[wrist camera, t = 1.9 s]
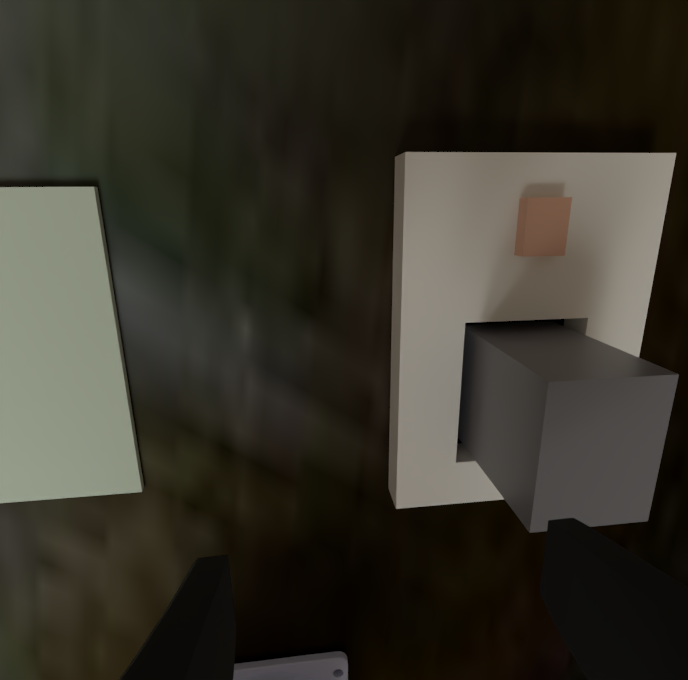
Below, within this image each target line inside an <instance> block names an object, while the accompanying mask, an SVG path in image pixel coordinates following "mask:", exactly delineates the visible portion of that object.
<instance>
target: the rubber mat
mask: <svg viewBox="0 0 688 680" xmlns="http://www.w3.org/2000/svg"><path fill="white" fill-rule="evenodd" d="M143 489H144V483H143V476H142V470H141V463H140V457H139V451H138V444H137V438H136V431H135V425H134V418H133V412H132V406H131V399H130V393H129V386H128V380H127V373H126V367H125V361H124V354H123V348H122V341H121V335H120V329H119V322H118V316H117V309H116V303H115V296H114V290H113V284H112V277H111V271H110V264H109V258H108V251H107V245H106V239H105V232H104V226H103V219H102V213H101V207H100V200H99V194H98V187H0V503H8V502H21V501H34V500H46V499H59V498H72V497H84V496H97V495H109V494H122V493H135V492H142V491H143Z"/></svg>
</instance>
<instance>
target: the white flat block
mask: <svg viewBox="0 0 688 680" xmlns="http://www.w3.org/2000/svg"><path fill="white" fill-rule="evenodd" d="M675 158H676V153H542V152H404V153H402V154H400V155H398V156H396V157H395V184H394V233H393V283H392V332H391V381H390V431H389V480H388V488H389V491H390V494H391V497H392V499H393V502H394V505H395V508H396V509H401V508H412V507H423V506H434V505H446V504H457V503H468V502H479V501H491V500H502V499H504V498H503V497H502V495H501V494H500V493H499V491H498V490H497V489H496V487H495V486H494V485H493V483H492V482H491V481H490V479H489V478H488V477H487V475H486V474H485V473H484V471H483V470H482V469H481V467H480V466H479V465H478V463H477V462H476V461H475V459H474V458H473V457H472V455H471V454H470V453H469V451H468V450H467V449H466V447H465V446H464V445H463V443H460V444H457V439H458V424H459V409H460V394H461V380H462V365H463V350H464V335H465V323H473V322H498V321H522V320H546V319H564V325H563V326H565V327H567V328H569V329H572V330H574V331H577V332H579V333H581V334H584V335H586V336H589V337H591V338H593V339H596V340H598V341H600V342H603V343H605V344H608V345H610V346H612V347H615V348H617V349H620V350H622V351H624V352H627V353H629V354H631V355H634V356H636V357H639V354H640V349H641V343H642V338H643V332H644V327H645V321H646V316H647V310H648V305H649V300H650V294H651V289H652V283H653V278H654V272H655V267H656V261H657V256H658V250H659V245H660V240H661V234H662V229H663V223H664V218H665V212H666V207H667V201H668V196H669V191H670V185H671V180H672V174H673V169H674V163H675Z"/></svg>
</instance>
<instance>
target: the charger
mask: <svg viewBox="0 0 688 680" xmlns="http://www.w3.org/2000/svg"><path fill="white" fill-rule="evenodd" d="M678 376H679V374H677V373H674V372H672V371H670V370H667V369H665V368H662V367H660V366H658V365H655V364H653V363H650V362H648V361H646V360H643V359H641V358H639V357H636V356H634V355H631V354H629V353H627V352H624V351H622V350H620V349H617V348H615V347H612V346H610V345H608V344H605V343H603V342H600V341H598V340H596V339H593V338H591V337H589V336H586V335H584V334H581V333H579V332H577V331H574V330H572V329H569V328H567V327H565V326H562V325H560V324H558V323H555V322H553V321H547V322H523V323H499V324H474V325H465V335H464V350H463V365H462V380H461V394H460V409H459V424H458V438H459V439H460V441H461V442H462V443H463V445H464V446H465V447H466V449H467V450H468V451H469V453H470V454H471V455H472V457H473V458H474V459H475V461H476V462H477V463H478V465H479V466H480V467H481V469H482V470H483V471H484V473H485V474H486V475H487V477H488V478H489V479H490V481H491V482H492V483H493V485H494V486H495V487H496V489H497V490H498V491H499V493H500V494H501V495H502V497H503V498H504V499H505V501H506V502H507V503H508V505H509V506H510V507H511V509H512V510H513V511H514V512H515V514H516V515H517V516H518V518H519V519H520V520H521V522H522V523H523V524H524V526H525V527H526V528H527V530H528V531H529V532H530V533H531V532H541V531H547V527H548V520H556V519H565V518H575V519H577V520H579V521H580V522H582V523H584V524H586V525H587V526H589V527H592V526H602V525H612V524H623V523H633V522H643V521H648V518H649V513H650V508H651V504H652V499H653V494H654V489H655V485H656V480H657V475H658V470H659V466H660V461H661V456H662V452H663V447H664V442H665V437H666V433H667V428H668V423H669V419H670V414H671V409H672V404H673V400H674V395H675V390H676V386H677V381H678Z"/></svg>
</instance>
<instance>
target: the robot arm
mask: <svg viewBox="0 0 688 680" xmlns="http://www.w3.org/2000/svg"><path fill="white" fill-rule="evenodd" d="M539 592H540V594H541V596H542V598H543V601H544V603H545V605H546V607H547V609H548V611H549V613H550V615H551V617H552V619H553V621H554V623H555V625H556V627H557V629H558V631H559V633H560V635H561V637H562V639H563V641H564V642H565V644H566V645H567V647H568V649H569V650H570V652H571V654H572V655H573V657H574V658H575V660H576V661H577V663H578V665H579V666H580V668H581V669H582V671H583V673H584V674H585V676H586V677H587V679H588V680H688V587H687V586H685V585H683V584H682V583H680V582H678V581H677V580H675V579H673V578H672V577H670V576H668V575H667V574H665V573H663V572H662V571H660V570H659V569H657V568H655V567H654V566H652V565H650V564H649V563H647V562H646V561H644V560H642V559H641V558H639V557H638V556H636V555H634V554H633V553H631V552H630V551H628V550H626V549H625V548H623V547H622V546H620V545H618V544H617V543H615V542H613V541H612V540H610V539H609V538H607V537H605V536H604V535H602V534H601V533H599V532H597V531H596V530H594V529H592V528H591V527H589V526H587V525H586V524H584V523H582V522H580V521H579V520H577V519H575V518H565V519H556V520H548V527H547V535H546V543H545V551H544V559H543V567H542V575H541V583H540V591H539ZM236 634H237V628H236V620H235V611H234V603H233V595H232V586H231V578H230V570H229V561H228V555H222V556H213V557H204V558H198V559H197V560H196V561H195V562H194V563H193V565H192V567H191V568H190V570H189V572H188V574H187V576H186V577H185V579H184V581H183V582H182V584H181V586H180V588H179V589H178V591H177V593H176V594H175V596H174V598H173V599H172V601H171V602H170V604H169V606H168V607H167V609H166V610H165V612H164V614H163V615H162V617H161V618H160V620H159V622H158V623H157V625H156V626H155V628H154V629H153V631H152V632H151V634H150V635H149V637H148V638H147V640H146V641H145V643H144V644H143V646H142V647H141V649H140V650H139V652H138V653H137V655H136V656H135V658H134V659H133V661H132V662H131V663H130V665H129V666H128V668H127V669H126V670H125V672H124V673H123V675H122V676H121V677H120V679H119V680H348V661H347V656H346V654H345V653H344V652H341V651H335V652H327V653H318V654H310V655H302V656H294V657H286V658H278V659H270V660H262V661H254V662H246V663H238V664H234V662H235V648H236ZM337 669H338V670H337Z"/></svg>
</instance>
